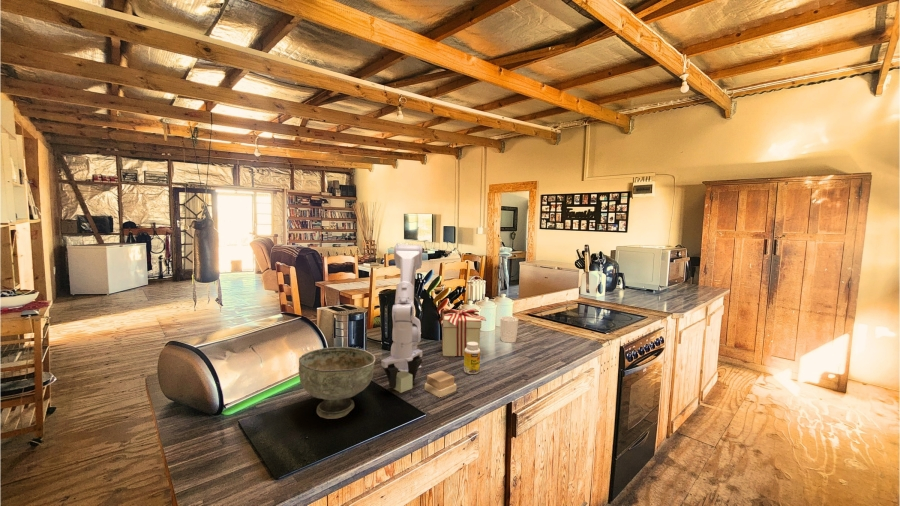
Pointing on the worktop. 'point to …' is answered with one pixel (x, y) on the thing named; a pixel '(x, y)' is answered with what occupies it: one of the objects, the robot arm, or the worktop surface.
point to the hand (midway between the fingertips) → (402, 383)
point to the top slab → (440, 380)
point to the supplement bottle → (472, 358)
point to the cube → (403, 381)
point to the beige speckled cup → (508, 328)
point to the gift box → (460, 330)
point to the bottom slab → (440, 392)
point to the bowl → (336, 377)
